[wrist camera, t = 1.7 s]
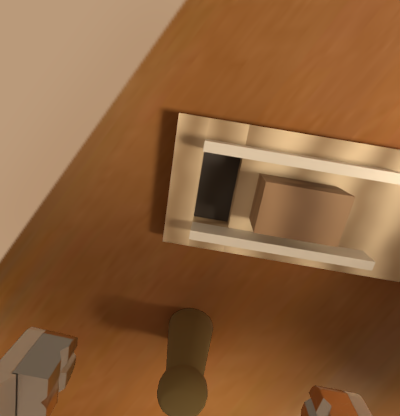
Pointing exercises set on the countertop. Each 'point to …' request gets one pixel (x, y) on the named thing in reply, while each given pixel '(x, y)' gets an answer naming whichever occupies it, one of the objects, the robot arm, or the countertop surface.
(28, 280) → the countertop surface
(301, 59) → the countertop surface
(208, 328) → the cork
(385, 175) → the channel walls
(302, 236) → the walnut block
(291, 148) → the board
